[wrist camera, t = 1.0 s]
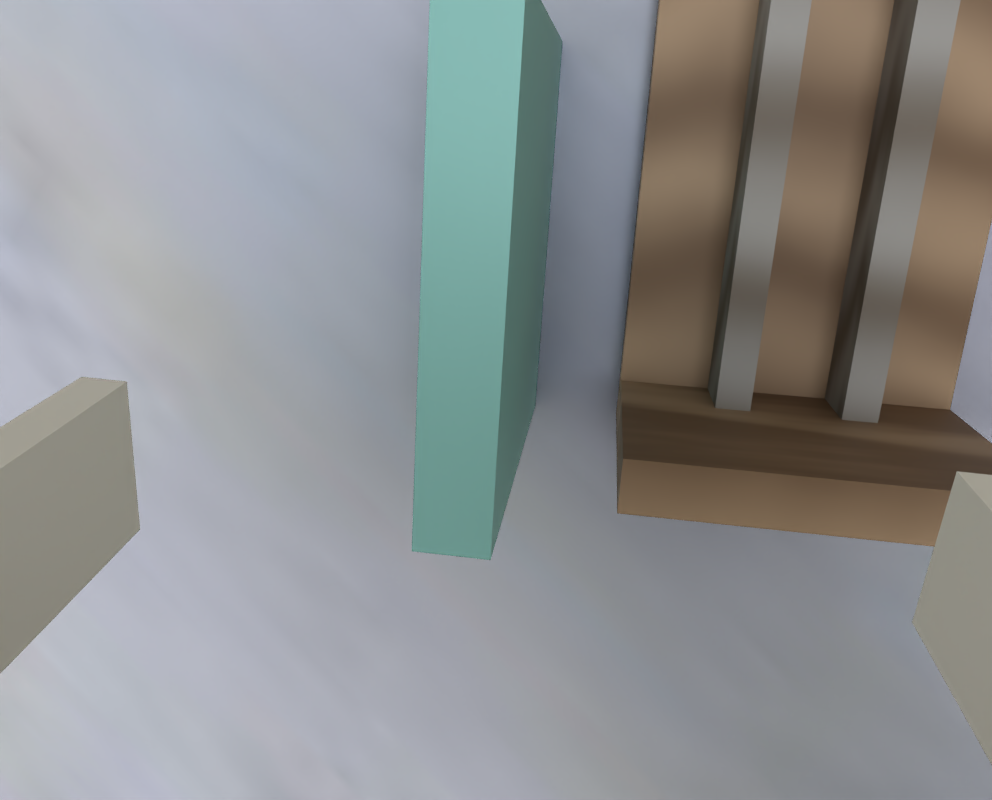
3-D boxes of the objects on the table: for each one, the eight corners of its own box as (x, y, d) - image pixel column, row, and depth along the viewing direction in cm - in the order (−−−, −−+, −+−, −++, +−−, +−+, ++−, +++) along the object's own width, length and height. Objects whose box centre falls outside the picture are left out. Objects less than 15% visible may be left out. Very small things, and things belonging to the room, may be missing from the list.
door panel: (535, 405, 41) (490, 560, 26) (485, 400, 42) (411, 551, 27) (562, 41, 37) (526, -27, 22) (505, 38, 37) (430, -31, 22)
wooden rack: (928, 442, 40) (1048, 558, 29) (616, 413, 41) (617, 513, 30) (1072, -231, 32) (1312, -422, 21) (683, -237, 33) (716, -419, 22)
